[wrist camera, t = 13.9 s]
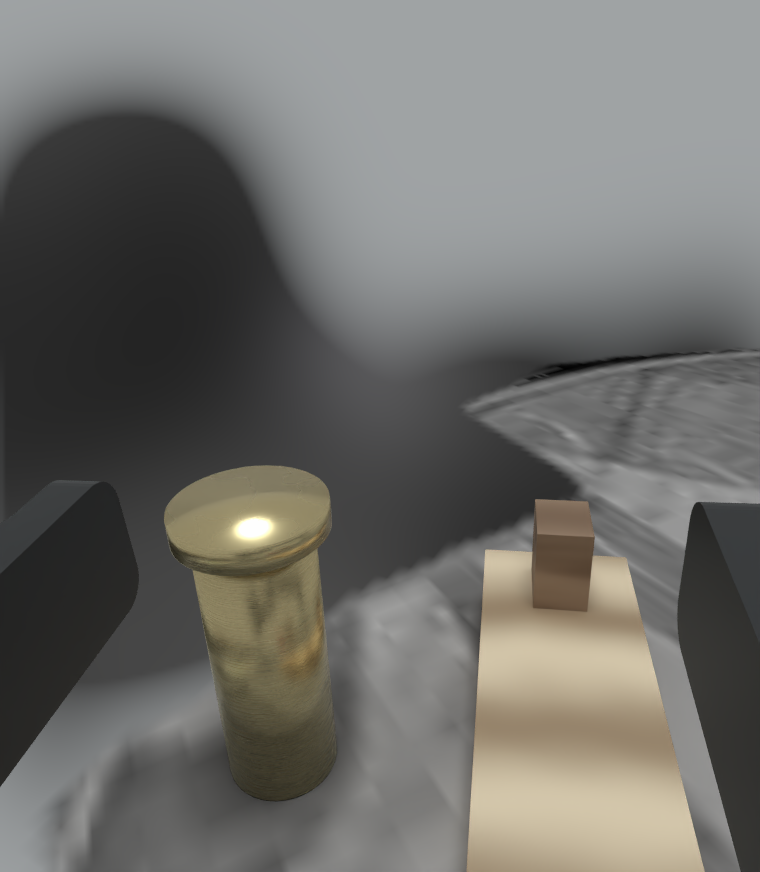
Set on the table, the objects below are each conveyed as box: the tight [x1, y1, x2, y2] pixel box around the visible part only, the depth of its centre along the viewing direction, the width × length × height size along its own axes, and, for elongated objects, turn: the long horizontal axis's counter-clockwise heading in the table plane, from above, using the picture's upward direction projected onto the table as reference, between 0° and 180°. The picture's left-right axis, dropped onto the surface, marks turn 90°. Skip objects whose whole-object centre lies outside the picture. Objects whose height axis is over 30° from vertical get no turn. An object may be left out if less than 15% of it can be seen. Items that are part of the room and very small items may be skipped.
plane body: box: [467, 499, 705, 872], centre depth 26 cm, size 22×7×7 cm, turn 171°
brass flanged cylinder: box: [164, 466, 337, 801], centre depth 27 cm, size 6×6×12 cm
